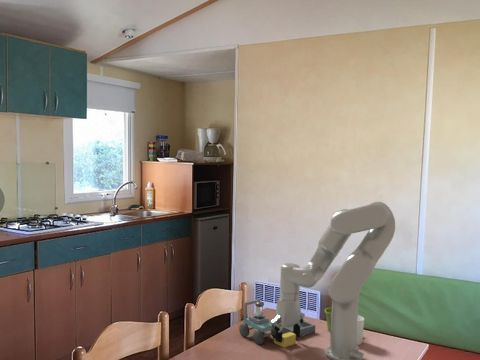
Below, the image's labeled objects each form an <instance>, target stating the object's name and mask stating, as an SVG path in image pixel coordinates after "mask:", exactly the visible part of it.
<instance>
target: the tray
mask: <svg viewBox="0 0 480 360" xmlns="http://www.w3.org/2000/svg"><path fill="white" fill-rule="evenodd" d="M281 324H282V323H281ZM294 325H295V324H294ZM294 325H290V326H286V327H284V328H283V329H282V331H281V332H282V334H285V333H288V332H292V333H293V326H294ZM301 325H302V326H301V327H300V337H296V339H298V338H301V337H305V336H307V335H311V334H314V333H315V332H316V325H315V324H313V323H311V322H309V321H305V320H304V319H303V322H302V324H301ZM279 328H280V326H279Z"/></svg>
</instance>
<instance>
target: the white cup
mask: <svg viewBox="0 0 480 360" xmlns="http://www.w3.org/2000/svg"><path fill="white" fill-rule="evenodd" d="M364 327H365V317H363V316H362V315H359V314H358V319H357V339H356V346H359V345H361V344H362V342H363V335H364Z"/></svg>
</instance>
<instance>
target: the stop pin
mask: <svg viewBox="0 0 480 360" xmlns="http://www.w3.org/2000/svg"><path fill="white" fill-rule="evenodd" d="M264 305H265V302H264V301H261V300H260V301H257V302H255V303H254V306H255V314H254V315H255V318H256V319H258V320H259V319H263V316H264Z"/></svg>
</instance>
